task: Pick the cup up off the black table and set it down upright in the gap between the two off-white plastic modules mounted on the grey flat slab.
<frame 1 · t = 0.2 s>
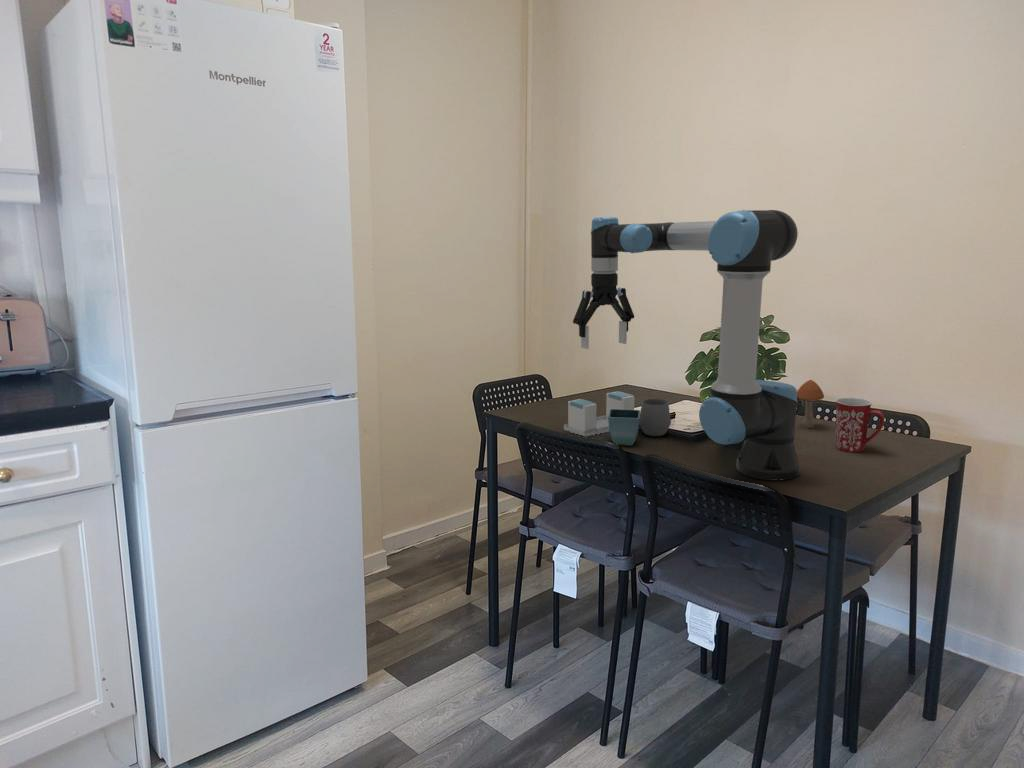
hand: (604, 345, 207), 27 cm above the table, fingers open, 13 cm apart
grey flat slab: (601, 427, 221), on the table
mushroom: (807, 428, 216), on the table
cup: (654, 434, 213), on the table
module 1: (582, 431, 217), resting on grey flat slab
module 2: (620, 422, 225), resting on grey flat slab
flower pot: (624, 443, 205), on the table
mug: (855, 450, 195), on the table
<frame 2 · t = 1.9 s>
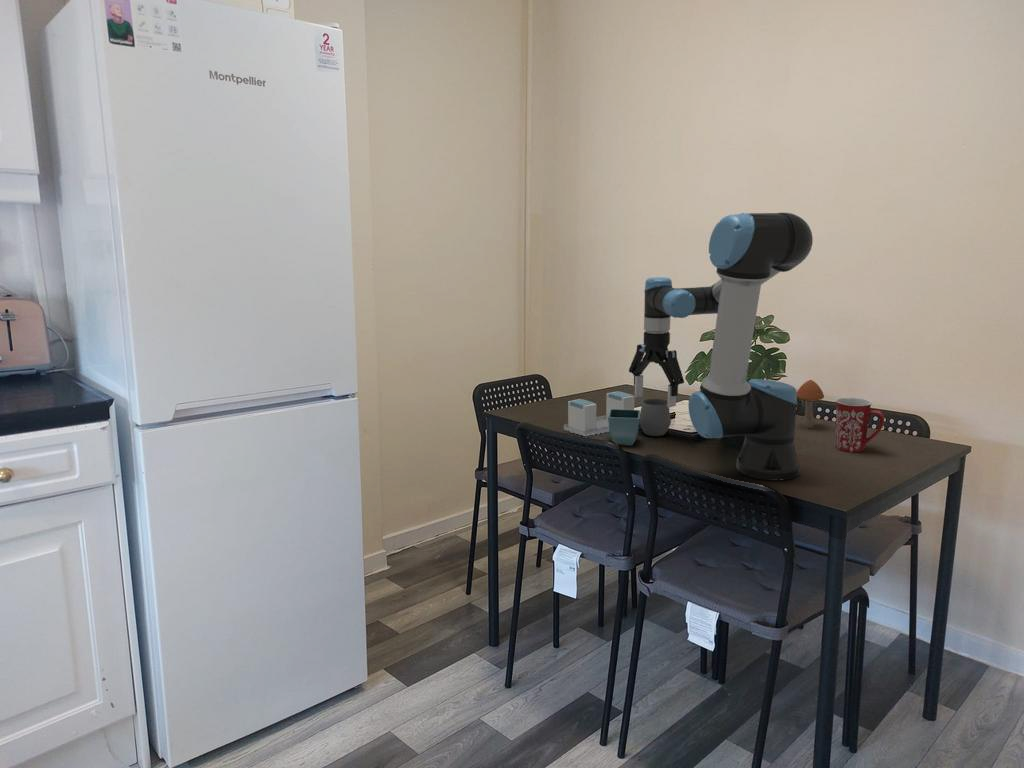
hand: (654, 401, 212), 10 cm above the table, fingers open, 13 cm apart
nothing on the table moved.
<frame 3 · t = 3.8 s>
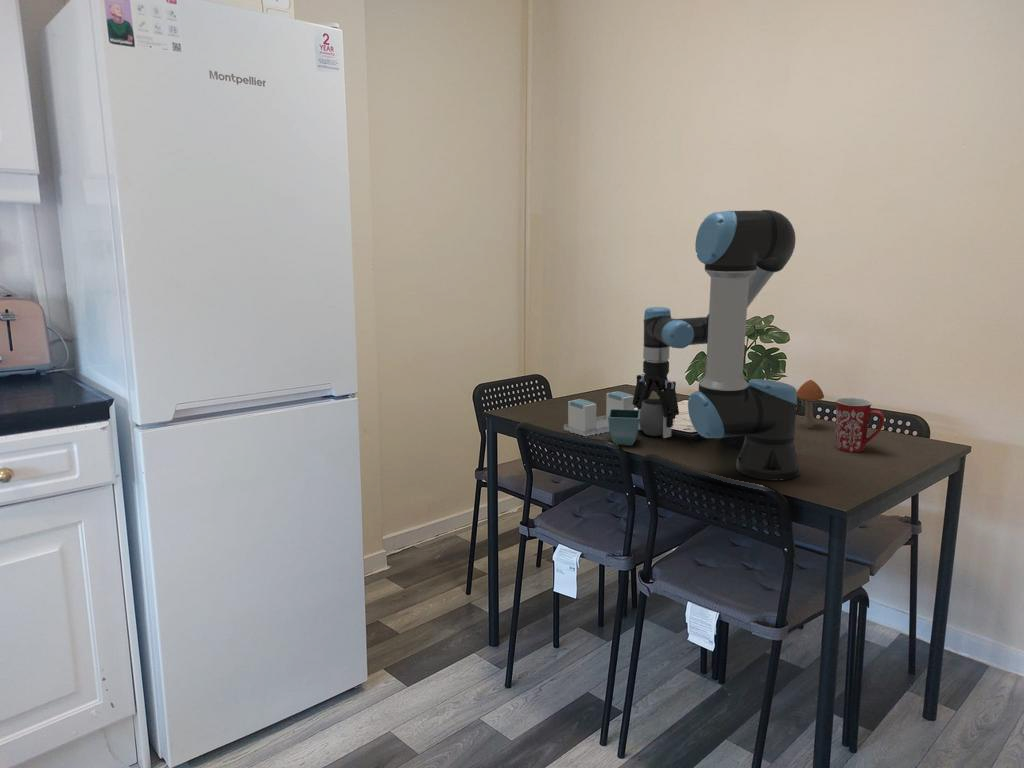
hand: (654, 432, 213), 0 cm above the table, fingers closed on cup, 9 cm apart
cup: (654, 434, 213), on the table, touching gripper
everything else where it was.
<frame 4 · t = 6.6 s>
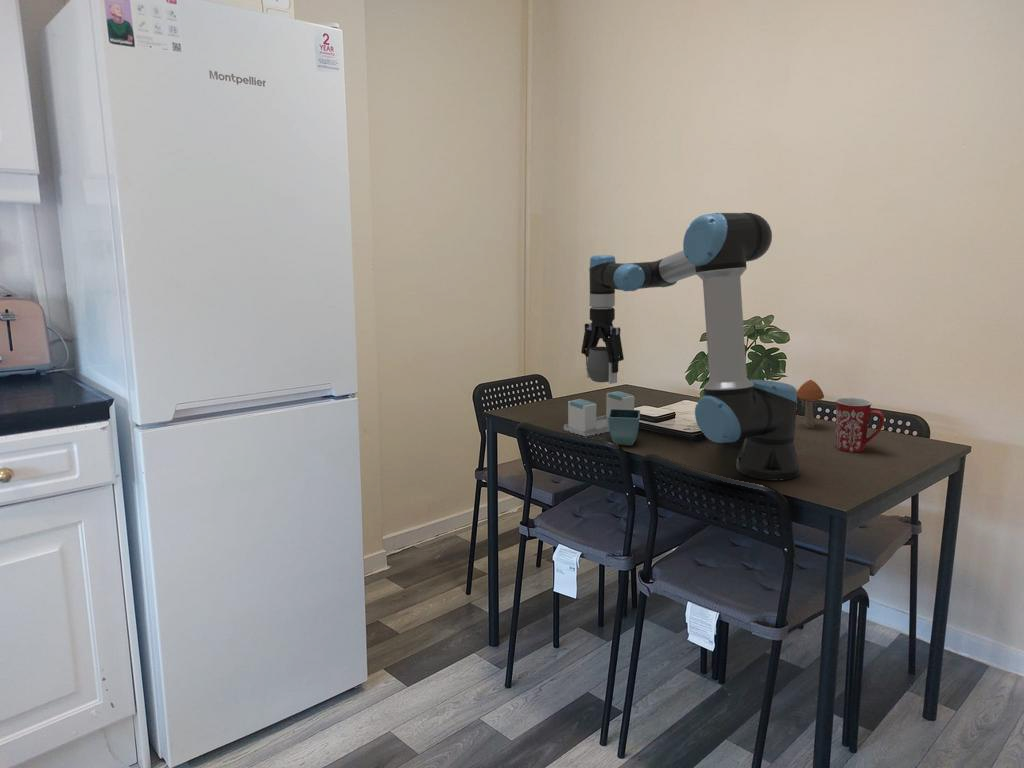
hand: (601, 380, 218), 15 cm above the table, fingers closed on cup, 9 cm apart
cup: (601, 381, 218), point 15 cm above the table, touching gripper
everything else where it was.
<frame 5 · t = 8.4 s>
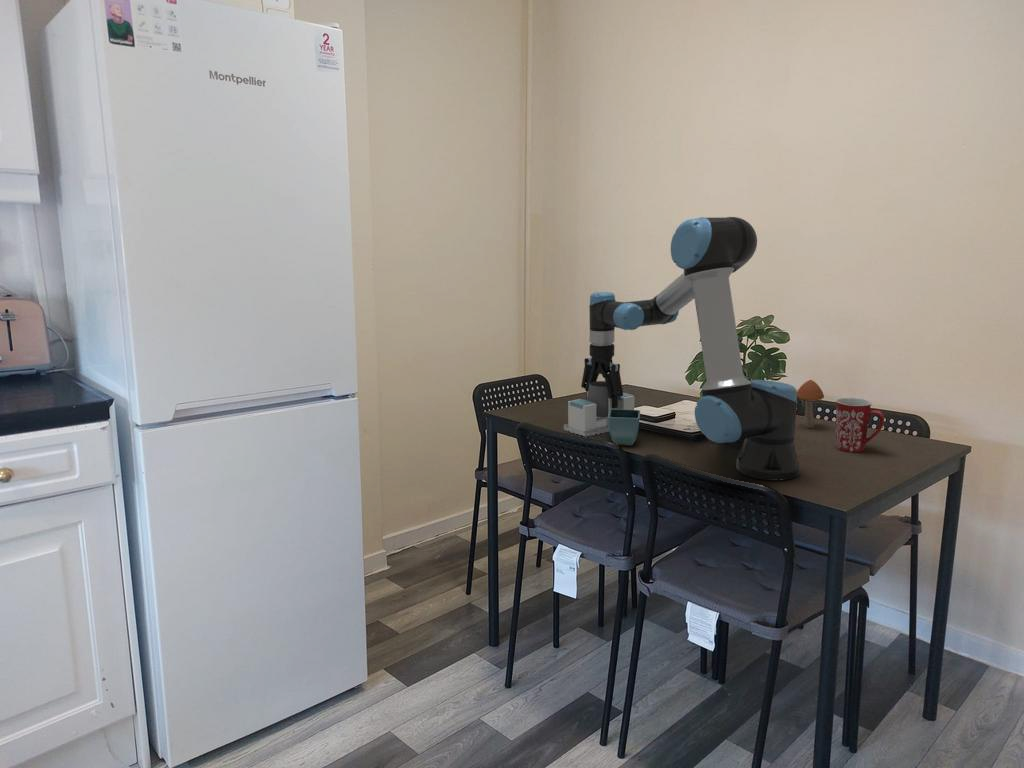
hand: (601, 414, 220), 4 cm above the table, fingers closed on cup, 9 cm apart
cup: (601, 415, 220), point 4 cm above the table, touching gripper
everything else where it was.
when the fingers open (3 cm above the table, at t = 9.6 s): cup drops 2 cm, resting on grey flat slab.
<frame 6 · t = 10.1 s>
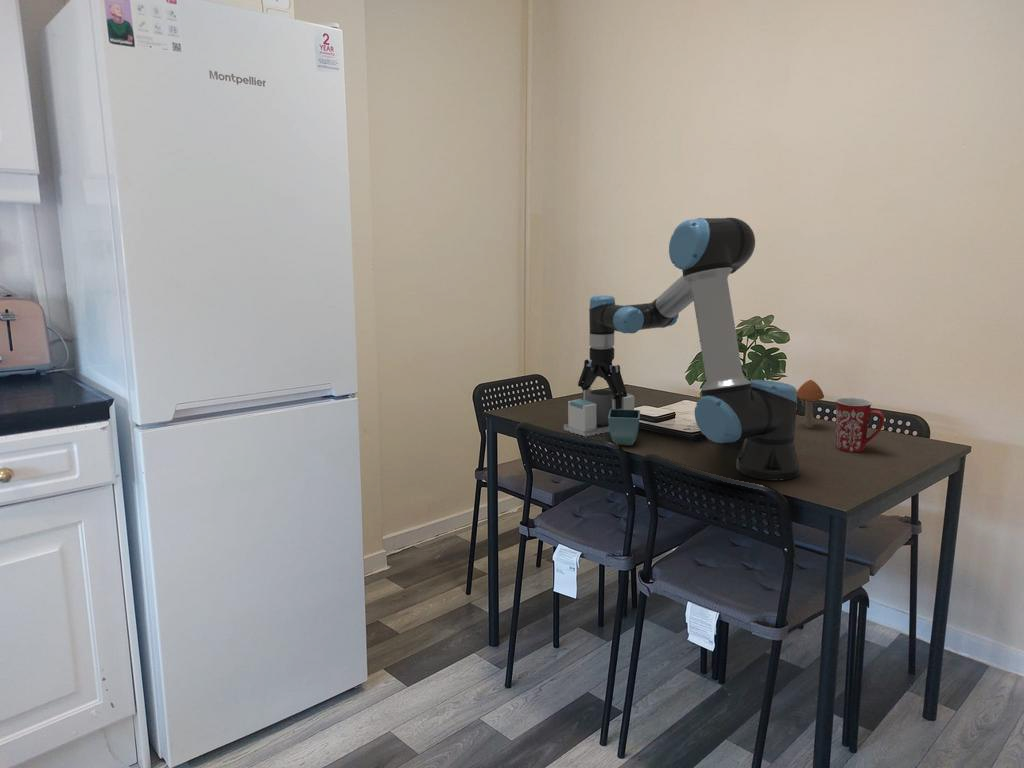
hand: (601, 414, 220), 4 cm above the table, fingers open, 13 cm apart
cup: (601, 423, 221), point 1 cm above the table, touching grey flat slab
everything else where it was.
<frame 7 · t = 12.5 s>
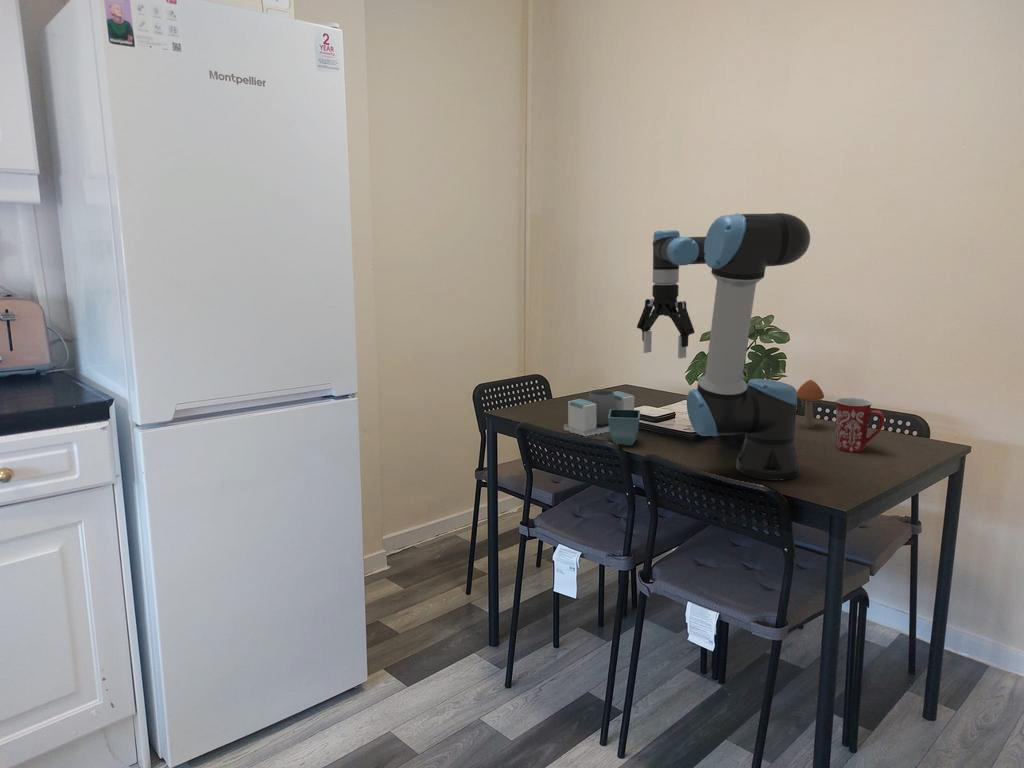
hand: (664, 355, 213), 23 cm above the table, fingers open, 13 cm apart
nothing on the table moved.
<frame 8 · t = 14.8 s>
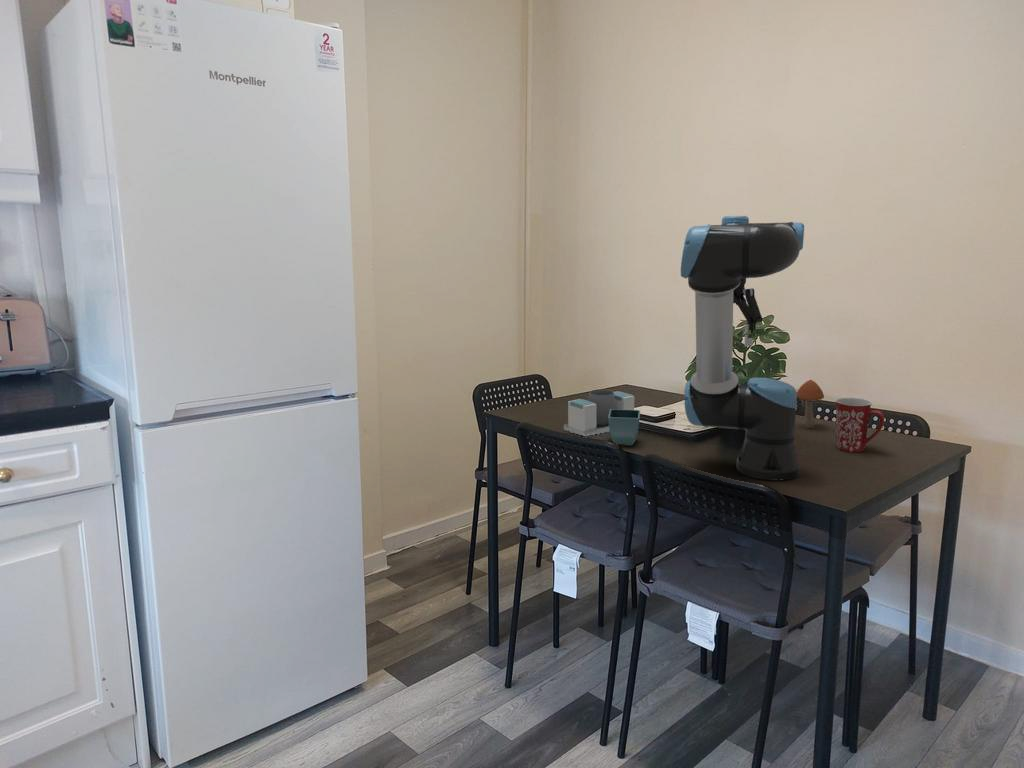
hand: (729, 342, 210), 27 cm above the table, fingers open, 13 cm apart
nothing on the table moved.
at the end: cup inside the target area on the grey flat slab (0.1 cm from its centre), point 1.0 cm above the grey flat slab's base; cup tilted 0°; the gripper is holding nothing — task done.
